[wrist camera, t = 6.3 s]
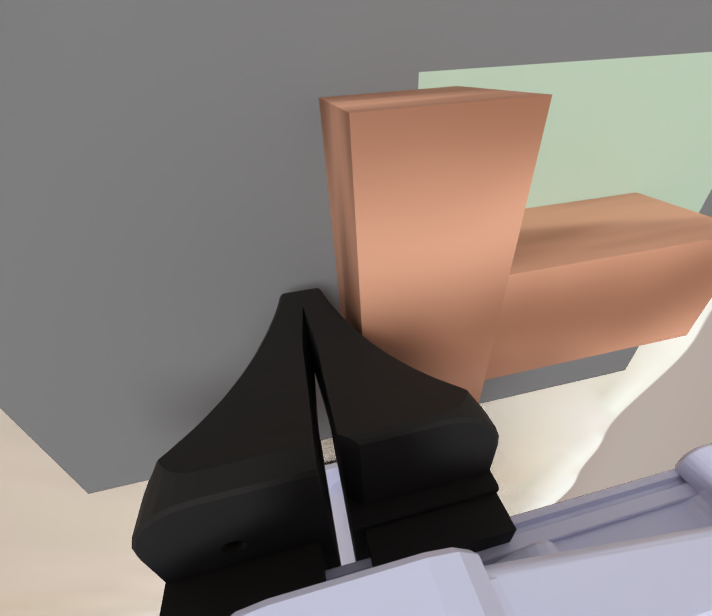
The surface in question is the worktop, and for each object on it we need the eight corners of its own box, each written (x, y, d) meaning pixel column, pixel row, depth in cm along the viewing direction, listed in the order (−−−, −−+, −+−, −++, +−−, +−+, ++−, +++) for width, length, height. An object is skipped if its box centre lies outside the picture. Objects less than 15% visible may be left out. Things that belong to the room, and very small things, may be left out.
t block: (571, 345, 18) (639, 405, 15) (349, 393, 16) (370, 474, 13) (689, 66, 11) (865, 65, 8) (318, 97, 9) (349, 113, 6)
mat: (616, 363, 21) (624, 370, 21) (93, 481, 17) (88, 493, 16) (847, -58, 10) (875, -63, 10) (-414, -43, 6) (-472, -52, 6)
